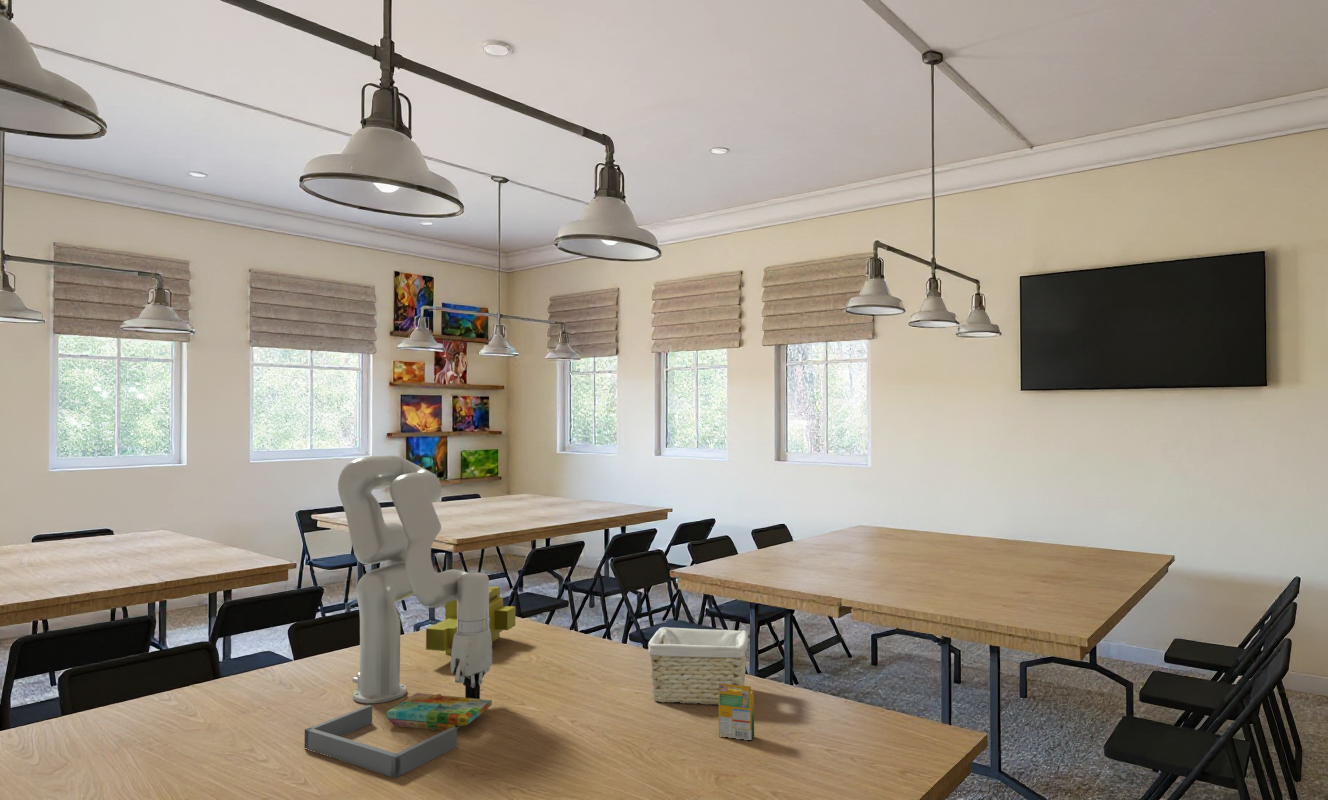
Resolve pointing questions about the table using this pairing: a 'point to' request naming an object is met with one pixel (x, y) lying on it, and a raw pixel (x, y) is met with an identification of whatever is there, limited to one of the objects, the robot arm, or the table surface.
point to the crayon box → (736, 712)
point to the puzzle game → (436, 711)
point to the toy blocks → (444, 631)
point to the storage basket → (696, 663)
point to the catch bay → (369, 757)
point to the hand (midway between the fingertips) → (472, 701)
